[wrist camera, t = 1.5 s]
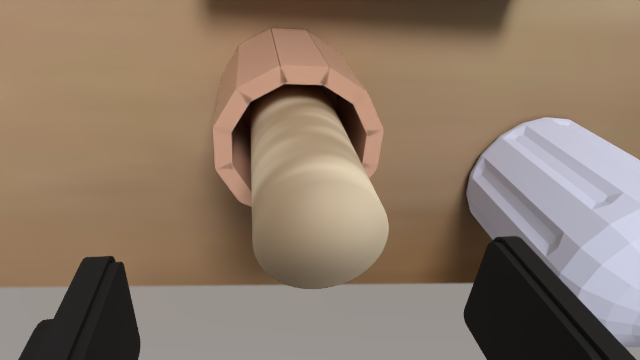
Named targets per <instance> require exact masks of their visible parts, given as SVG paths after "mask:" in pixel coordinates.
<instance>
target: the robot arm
mask: <svg viewBox="0 0 640 360" xmlns="http://www.w3.org/2000/svg"><path fill="white" fill-rule="evenodd" d="M464 319H465V323H466V325H467V326H468V328H469V330H470V331H471V333H472V335H473V337H474V338H475V340H476V342H477V343H478V345H479V347H480V349H481V350H482V352H483V354H484V355H485V357H486V359H487V360H636V359H635V358H634V357H633V356H632V355H631V354H630V353H629V352H628V351H627V349H626V348H625V347H624V346H623V345H622V344H621V343H620V342H619V341H618V340H617V339H616V338H615V337H614V336H613V335H612V334H611V332H610V331H609V330H608V329H607V328H606V327H605V326H604V325H603V324H602V323H601V322H600V321H599V320H598V319H597V318H596V317H595V316H594V314H593V313H592V312H591V311H590V310H589V309H588V308H587V307H586V306H585V305H584V304H583V303H582V302H581V301H580V300H579V299H578V298H577V296H576V295H575V294H574V293H573V292H572V291H571V290H570V289H569V288H568V287H567V286H566V285H565V284H564V283H563V282H562V281H561V280H560V278H559V277H558V276H557V275H556V274H555V273H554V272H553V271H552V270H551V269H550V268H549V267H548V266H547V265H546V264H545V263H544V262H543V260H542V259H541V258H540V257H539V256H538V255H537V254H536V253H535V252H534V251H533V250H532V249H531V248H530V247H529V246H528V245H527V244H526V243H525V241H524V240H523V239H521V238H520V237H518V236H504V237H496V238H495V239H493V241H492V243H489V244H488V246H487V249H486V251H485V254H484V257H483V260H482V262H481V265H480V268H479V271H478V273H477V276H476V279H475V282H474V284H473V287H472V290H471V293H470V296H469V298H468V301H467V303H466V306H465V309H464ZM139 353H140V336H139V332H138V327H137V323H136V318H135V313H134V309H133V304H132V300H131V295H130V291H129V286H128V282H127V277H126V273H125V268H124V264H123V263H122V262H115V259H114V257H113V256H104V257H86V258H84V259H83V260H82V262H81V264H80V266H79V268H78V270H77V272H76V274H75V276H74V278H73V280H72V282H71V284H70V286H69V288H68V291H67V292H66V294H65V296H64V298H63V301H62V302H61V305H60V307H59V309H58V311H57V313H56V315H55V317H54V319H49V320H48V319H47V320H43V321H41V322H40V323H39V324H38V325H37V327H36V328H35V329H34V331H33V333H32V335H31V337H30V339H29V341H28V342H27V344H26V346H25V348H24V350H23V352H22V354H21V356H20V358H19V359H18V360H138V357H139Z"/></svg>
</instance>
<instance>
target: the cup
mask: <svg viewBox="0 0 640 360" xmlns="http://www.w3.org/2000/svg"><path fill="white" fill-rule="evenodd" d="M283 84H303V85H323V87H324V89H325V91H326V93H327V95H328V97H329V99H330V101H331V103H332V105H333V107H334V109H335V111H336V113H337V115H338V117H339V119H340V121H341V123H342V125H343V127H344V130H345V132H346V134H347V136H348V138H349V140H350V142H351V144H352V146H353V148H354V150H355V152H356V154H357V156H358V158H359V160H360V162H361V164H362V166H363V168H364V170H365V172H366V174H367V176H368V178H370V177H371V176H372V174H373V173H374V172H375V171H376V168H377V166H378V160H379V154H380V149H381V143H382V137H383V131H384V130H383V127H382V125H381V122H380V120H379V118H378V115H377V113H376V111H375V108H374V106H373V103H372V101H371V99H370V96H369V94H368V92H367V91H366V89H365V88H364V87H363V86H362V84H361V83H360V82H359V80H358V79H357V78H356V76H355V75H354V74H353V72H352V71H351V70H350V68H349V67H348V66H347V65H346V63H345V62H344V61H343V59H342V58H341V57H340V55H339V54H338V53H337V51H336V50H335V49H334V48H332V47H331V46H330V45H328V44H327V43H325V42H324V41H322V40H321V39H319V38H318V37H316V36H315V35H314V34H312V33H311V32H309V31H308V30H304V29H286V28H269V29H267V30H266V31H264V32H262V33H260V34H258V35H256V36H255V37H253V38H251V39H249V40H247V41H245V42H244V43H242V44H240V46H238V48H237V50H236V51H235V53H234V55H233V57H232V59H231V60H230V62H229V64H228V66H227V67H226V69H225V71H224V73H223V75H222V80H221V86H220V91H219V97H218V102H217V108H216V113H215V119H214V124H213V141H214V157H215V169H216V171H217V173H218V174H219V175H220V177H221V178H222V179H223V181H224V182H225V183H226V185H227V186H228V187H229V189H230V190H231V191H232V193H233V194H234V195H235V197H236V198H237V199H238V201H240V202H241V203H243V204H246V205H248V206H250V207H252V184H251V120H250V102H251V101H253V100H255V99H257V98H259V97H261V96H262V95H264V94H266V93H268V92H270V91H272V90H274V89H276V88H278V87H280V86H282V85H283Z"/></svg>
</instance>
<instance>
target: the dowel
mask: <svg viewBox="0 0 640 360" xmlns="http://www.w3.org/2000/svg"><path fill="white" fill-rule="evenodd" d="M250 120H251V184H252V243H253V251H254V254H255V257H256V259H257V261H258V263H259V265H260V266H261V268H262V269H263V270H264V271H265V272H266V273H267V274H268V275H270V276H271V277H272V278H274V279H275V280H277V281H279V282H281V283H283V284H286V285H289V286H292V287H297V288H303V289H321V288H328V287H333V286H336V285H340V284H342V283H345V282H347V281H350V280H352V279H354V278H355V277H357V276H359V275H360V274H362V273H363V272H364V271H366V270H367V269H368V268H369V267H370V266H371V265H372V264H373V263H374V262H375V261H376V260H377V259H378V257H379V256H380V254H381V253H382V251H383V249H384V247H385V244H386V241H387V238H388V231H389V226H388V219H387V215H386V212H385V210H384V208H383V206H382V204H381V202H380V200H379V198H378V196H377V194H376V192H375V190H374V188H373V186H372V184H371V182H370V180H369V178H368V176H367V174H366V172H365V170H364V168H363V166H362V164H361V162H360V160H359V158H358V156H357V154H356V152H355V150H354V148H353V146H352V144H351V142H350V140H349V138H348V136H347V134H346V132H345V130H344V127H343V125H342V123H341V121H340V119H339V117H338V115H337V113H336V111H335V109H334V107H333V105H332V103H331V101H330V99H329V97H328V95H327V93H326V91H325V89H324V87H323V85H303V84H283V85H282V86H280V87H278V88H276V89H274V90H272V91H270V92H268V93H266V94H264V95H262V96H261V97H259V98H257V99H255V100H253V101H251V102H250Z"/></svg>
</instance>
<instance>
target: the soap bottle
mask: <svg viewBox="0 0 640 360" xmlns="http://www.w3.org/2000/svg"><path fill="white" fill-rule="evenodd" d="M466 194H467V199H468V204H469V208H470V212H471V213H472V215H473V216H474V217H475V218H476V220H477V221H478V222H479V223H480V225H481V226H482V227H483V228H484V230H485V231H486V232H487V233H488V235H489V236H490V237H491V238H492V240H493V239H495V238H496V237H504V236H518V237H520V238H521V239H523V240H524V241H525V243H526V244H527V245H528V246H529V247H530V248H531V249H532V250H533V251H534V252H535V253H536V254H537V255H538V256H539V257H540V258H541V259H542V260H543V262H544V263H545V264H546V265H547V266H548V267H549V268H550V269H551V270H552V271H553V272H554V273H555V274H556V275H557V276H558V277H559V278H560V280H561V281H562V282H563V283H564V284H565V285H566V286H567V287H568V288H569V289H570V290H571V291H572V292H573V293H574V294H575V295H576V296H577V298H578V299H579V300H580V301H581V302H582V303H583V304H584V305H585V306H586V307H587V308H588V309H589V310H590V311H591V312H592V313H593V314H594V316H595V317H596V318H597V319H598V320H599V321H600V322H601V323H602V324H603V325H604V326H605V327H606V328H607V329H608V330H609V331H610V332H611V334H612V335H613V336H614V337H615V338H616V339H617V340H618V341H619V342H620V343H621V344H622V345H623V346H624V347H640V160H639V159H637V158H635V157H633V156H632V155H630V154H628V153H626V152H625V151H623V150H621V149H619V148H618V147H616V146H614V145H612V144H611V143H609V142H607V141H606V140H604V139H602V138H600V137H599V136H597V135H595V134H593V133H592V132H590V131H588V130H586V129H585V128H583V127H581V126H579V125H578V124H576V123H574V122H572V121H571V120H569V119H559V118H540V119H537V120H533V121H529V122H525V123H521V124H519V125H518V126H516V127H514V128H513V129H511V130H509V131H507V132H506V133H504V134H502V135H500V136H499V137H498V138H497V139H496V140H495V141H494V142H493V143H492V144H491V145H490V146H489V147H488V148H487V149H486V150H485V151H484V152H483V153H482V154H481V155H480V157H479V159H478V161H477V162H476V164H475V166H474V168H473V169H472V171H471V173H470V177H469V182H468V187H467V192H466Z"/></svg>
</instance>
